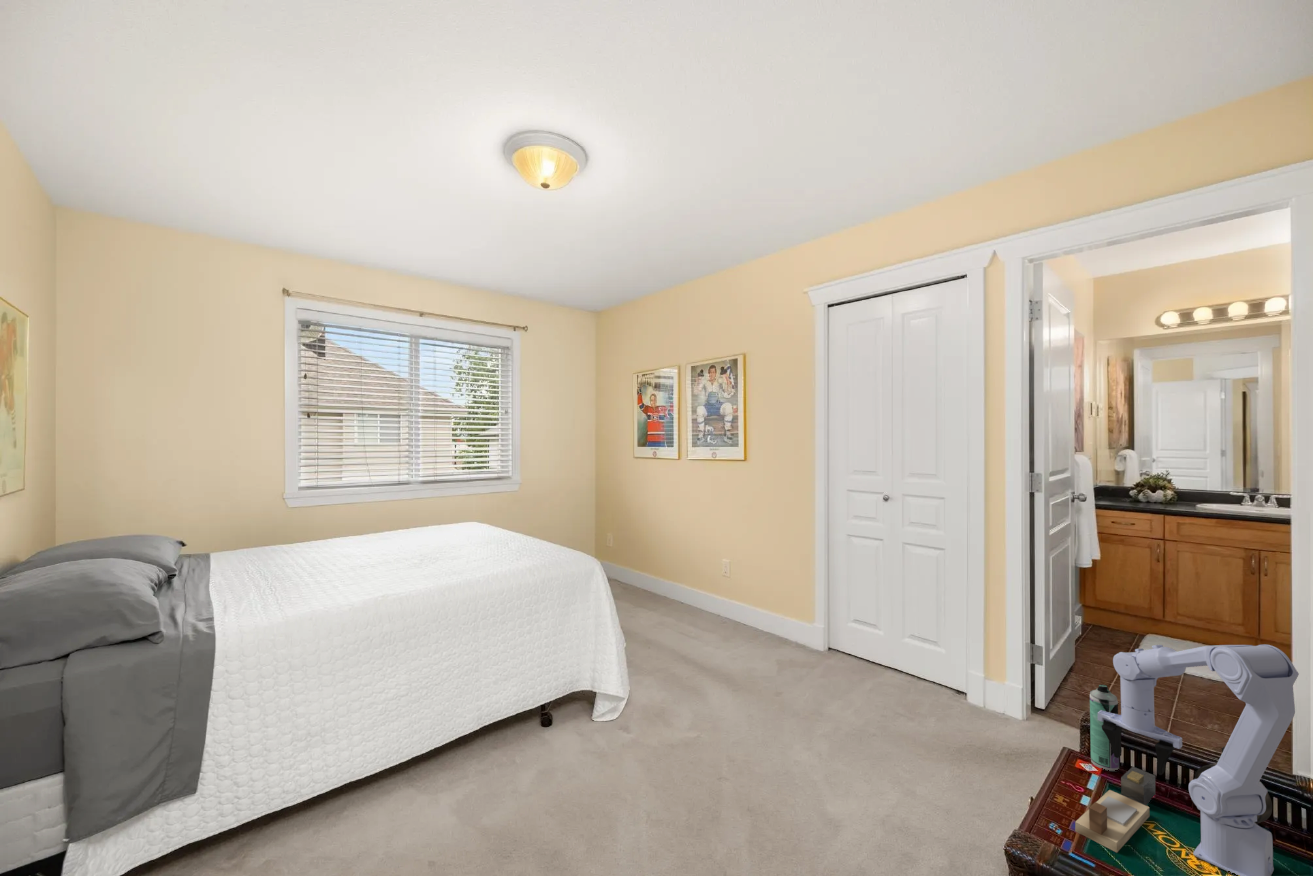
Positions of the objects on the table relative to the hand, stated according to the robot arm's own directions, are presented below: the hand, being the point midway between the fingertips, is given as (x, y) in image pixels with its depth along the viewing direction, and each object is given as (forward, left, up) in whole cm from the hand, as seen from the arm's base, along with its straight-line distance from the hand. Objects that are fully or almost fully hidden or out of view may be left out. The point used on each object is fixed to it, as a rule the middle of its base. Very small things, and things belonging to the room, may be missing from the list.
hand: (1138, 764), depth 124 cm
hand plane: (0, +15, -8) cm, 17 cm away
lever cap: (0, 0, -8) cm, 8 cm away
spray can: (+9, -8, -8) cm, 14 cm away
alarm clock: (-14, -6, -8) cm, 17 cm away
